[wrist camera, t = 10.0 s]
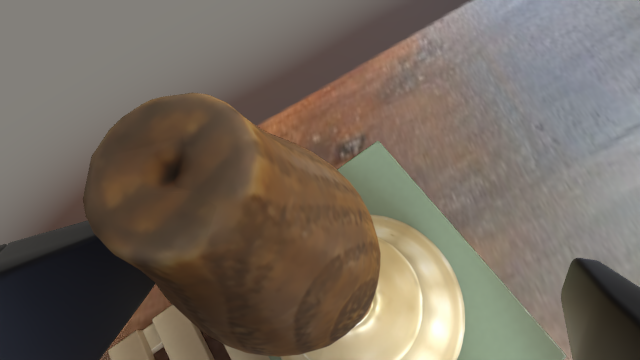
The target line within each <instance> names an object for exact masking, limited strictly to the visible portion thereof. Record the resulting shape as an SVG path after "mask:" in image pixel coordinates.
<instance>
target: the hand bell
mask: <svg viewBox="0 0 640 360" xmlns="http://www.w3.org/2000/svg"><path fill="white" fill-rule="evenodd" d="M83 203H84V208H85V214H86V217H87V219H88V222H89V224H90V226H91V228H92V230H93V233H94V234H95V235H96V236H97V237H98V238H99V239H100V240H101V241H102V242H103V244H104V245H105V246H106V247H107V248H108V249H109V250H110V251H111V252H112V253H113V254H114V255H116V256H117V257H119V258H121V259H122V260H124V261H126V262H128V263H129V264H131V265H133V266H134V267H136V268H138V269H139V270H141V271H142V272H143V273H144V274H146V275H147V276H148V277H149V278H150V279H151V280H153V281H154V282H155V283H156V285H157V286H158V287H159V289H160V290H161V291H162V293H163V294H164V295H165V297H166V298H167V299H168V300H169V301H170V302H171V303H172V304H173V305H174V306H175V307H176V308H177V309H178V310H179V311H180V312H181V313H182V314H183V315H184V316H185V317H186V318H188V319H189V320H190V321H191V322H192V323H193V324H194V325H195V326H196V327H197V328H199V329H200V330H201V331H202V332H203V333H205V334H207V335H209V336H210V337H212V338H214V339H216V340H217V341H219V342H221V343H223V344H224V345H226V346H229V347H231V348H234V349H237V350H240V351H242V352H245V353H249V354H256V355H265V356H276V357H281V360H457V358H458V356H459V354H460V351H461V347H462V343H463V337H464V332H465V307H464V301H463V296H462V292H461V288H460V286H459V283H458V280H457V277H456V275H455V273H454V271H453V269H452V267H451V265H450V264H449V262H448V260H447V259H446V258H445V256H444V255H443V254H442V252H441V251H440V250H439V249H438V248H437V247H436V245H435V244H434V243H433V242H432V241H431V240H429V239H428V238H427V237H426V236H425V235H423V234H422V233H421V232H419V231H418V230H416V229H415V228H413V227H411V226H409V225H407V224H405V223H403V222H401V221H399V220H395V219H392V218H389V217H385V216H380V215H370V213H369V211H368V209H367V207H366V205H365V204H364V202H363V200H362V198H361V196H360V195H359V193H358V192H357V191H356V189H355V188H354V187H353V185H352V184H351V183H350V182H349V181H348V180H347V179H346V178H345V177H344V176H343V175H342V174H341V173H340V172H339V171H338V170H336V169H335V168H334V167H333V166H332V165H331V164H329V163H328V162H326V161H325V160H323V159H322V158H320V157H319V156H317V155H316V154H314V153H313V152H311V151H310V150H307V149H305V148H303V147H301V146H299V145H297V144H295V143H292V142H290V141H288V140H285V139H283V138H280V137H278V136H275V135H272V134H270V133H267V132H266V131H264V130H262V129H261V128H259V127H258V126H256V125H254V124H253V123H251V122H250V121H249V120H247V119H246V118H245V117H244V116H242V115H241V114H240V113H239V112H238V111H236V110H235V109H234V108H233V107H231V106H230V105H229V104H228V103H226V102H224V101H222V100H219V99H217V98H214V97H212V96H210V95H207V94H198V93H188V94H180V95H173V96H165V97H160V98H157V99H152V100H150V101H148V102H146V103H144V104H142V105H140V106H139V107H137V108H136V109H134V110H133V111H131V112H130V113H128V114H127V115H125V116H124V117H122V118H121V119H120V120H119V121H118V122H117V123H116V124H115V125H114V126H113V127H112V128H111V129H110V130H109V131H108V133H107V134H106V136H105V137H104V139H103V140H102V142H101V143H100V145H99V146H98V148H97V149H96V151H95V152H94V154H93V155H92V157H91V162H90V167H89V172H88V176H87V181H86V187H85V192H84V197H83Z"/></svg>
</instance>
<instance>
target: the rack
mask: <svg viewBox="0 0 640 360" xmlns="http://www.w3.org/2000/svg"><path fill="white" fill-rule="evenodd" d="M337 170H338V171H339V172H340V173H341V174H342V175H343V176H344V177H345V178H346V179H347V180H348V181H349V182H350V183H351V184H352V185H353V187H354V188H355V189H356V191H357V192H358V193H359V195H360V196H361V198H362V200H363V202H364V204H365V205H366V207H367V209H368V211H369V213H370V215H380V216H385V217H389V218H392V219H395V220H399V221H401V222H403V223H405V224H407V225H409V226H411V227H413V228H415V229H416V230H418V231H419V232H421V233H422V234H423V235H425V236H426V237H427V238H428V239H429V240H431V241H432V242H433V243H434V244H435V245H436V247H437V248H438V249H439V250H440V251H441V252H442V254H443V255H444V256H445V258H446V259H447V260H448V262H449V264H450V265H451V267H452V269H453V271H454V273H455V275H456V277H457V280H458V283H459V286H460V288H461V292H462V296H463V301H464V307H465V332H464V337H463V343H462V347H461V351H460V354H459V356H458V358H457V360H564V359H565V358H566V354H565V353H564V352H563V351H562V350H561V349H560V348H559V346H558V345H557V344H556V343H555V342H554V341H553V340H552V338H551V337H550V336H549V335H548V334H547V333H546V332H545V330H544V329H543V328H542V327H541V326H540V325H539V324H538V322H537V321H536V320H535V319H534V318H533V317H532V316H531V314H530V313H529V312H528V311H527V310H526V309H525V308H524V306H523V305H522V304H521V303H520V302H519V301H518V300H517V298H516V297H515V296H514V295H513V294H512V293H511V292H510V290H509V289H508V288H507V287H506V286H505V285H504V284H503V282H502V281H501V280H500V279H499V278H498V277H497V276H496V274H495V273H494V272H493V271H492V270H491V269H490V268H489V266H488V265H487V264H486V263H485V262H484V261H483V260H482V258H481V257H480V256H479V255H478V254H477V253H476V252H475V250H474V249H473V248H472V247H471V246H470V245H469V244H468V242H467V241H466V240H465V239H464V238H463V237H462V236H461V234H460V233H459V232H458V231H457V230H456V229H455V228H454V226H453V225H452V224H451V223H450V222H449V221H448V220H447V218H446V217H445V216H444V215H443V214H442V213H441V212H440V210H439V209H438V208H437V207H436V206H435V205H434V204H433V202H432V201H431V200H430V199H429V198H428V197H427V196H426V194H425V193H424V192H423V191H422V190H421V189H420V188H419V186H418V185H417V184H416V183H415V182H414V181H413V180H412V178H411V177H410V176H409V175H408V174H407V173H406V172H405V170H404V169H403V168H402V167H401V166H400V165H399V164H398V162H397V161H396V160H395V159H394V158H393V157H392V156H391V154H390V153H389V152H388V151H387V150H386V149H385V147H384V146H383V145H382V144H381V143H380V142H379V141H377V142H375V143H374V144H372V145H371V146H370V147H368V148H367V149H365V150H364V151H363V152H361V153H360V154H358V155H357V156H356V157H354V158H353V159H351V160H350V161H348V162H347V163H346V164H344V165H343V166H341V167H340V168H339V169H337ZM152 322H153V323H152V324H151V325H150V326H148V327H147V328H145V329H144V330H143V331H142V330H136V331H135V332H133V333H132V334H130V335H129V336H128V337H126V338H125V339H123V340H122V341H121V342H119V343H118V344H116V345H115V346H114V347H112V348H111V349H109V350H108V353H109V357H110V359H111V360H155V357H154V355H153V354H154V353H156V352H157V351H159V350H160V349H161V348H163V347H164V348H165V350H166V352H167V355H168V357H169V359H170V360H215V359H214V357H213V355H212V354H211V352H210V350H209V348H208V346H207V344H206V342H205V340H204V338H203V336H202V334H201V332H200V330H199V328H197V327H196V326H195V325H194V324H193V323H192V322H191V321H190V320H189V319H188V318H186V317H185V316H184V315H183V314H182V313H181V312H180V311H179V310H178V309H177V308H176V307H175V306H174V305H173V304H172V305H171V306H170V307H168V308H167V309H165V310H164V311H163V312H161V313H160V314H158V315H157V316H156V317H154V318H153V319H152ZM223 345H224V344H223ZM224 347H225V348H226V350H227V352H228V354H229V356H230V358H231V360H281V357H276V356H265V355H256V354H249V353H245V352H242V351H240V350H237V349H234V348H231V347H229V346H226V345H224Z"/></svg>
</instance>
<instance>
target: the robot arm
mask: <svg viewBox="0 0 640 360" xmlns="http://www.w3.org/2000/svg"><path fill="white" fill-rule="evenodd" d="M154 285H155V282H154V281H153V280H151V279H150V278H149V277H148V276H147V275H146V274H144V273H143V272H142V271H141V270H139V269H138V268H136V267H134V266H133V265H131V264H129V263H128V262H126V261H124V260H122V259H121V258H119V257H117V256H116V255H114V254H113V253H112V252H111V251H110V250H109V249H108V248H107V247H106V246H105V245H104V244H103V242H102V241H101V240H100V239H99V238H98V237H97V236H96V235H95V234H94V233H93V230H92V228H91V226H90V224H89V222H88V221H84V222H81V223H78V224H74V225H70V226H67V227H64V228H60V229H56V230H53V231H49V232H46V233H42V234H39V235H35V236H32V237H28V238H25V239H21V240H18V241H14V242H11V243H9V244H8V245H6V244H3V245H0V360H100V358H101V357H102V356H103V354H104V353H105V352H106V350H107V349H108V348H109V346H110V345H111V344H112V342H113V341H114V339H115V338H116V337H117V335H118V334H119V333H120V331H121V330H122V329H123V327H124V326H125V325H126V323H127V322H128V321H129V319H130V318H131V317H132V315H133V314H134V313H135V311H136V310H137V308H138V307H139V306H140V304H141V303H142V302H143V300H144V299H145V298H146V296H147V295H148V294H149V292H150V291H151V289H152V288H153V286H154ZM561 301H562V307H563V312H564V317H565V322H566V327H567V332H568V337H569V343H570V348H571V353H572V358H573V360H640V287H638V286H637V285H635V284H634V283H632V282H630V281H629V280H627V279H626V278H624V277H623V276H621V275H620V274H618V273H616V272H615V271H613V270H612V269H610V268H609V267H607V266H606V265H604V264H602V263H601V262H599V261H596V260H590V259H583V258H576V259H574V260H573V261H572V262H571V265H570V267H569V270H568V273H567V276H566V279H565V282H564V285H563V288H562V293H561Z"/></svg>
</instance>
